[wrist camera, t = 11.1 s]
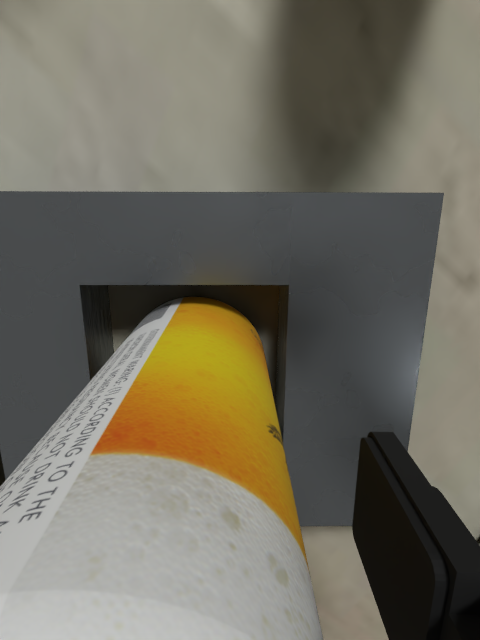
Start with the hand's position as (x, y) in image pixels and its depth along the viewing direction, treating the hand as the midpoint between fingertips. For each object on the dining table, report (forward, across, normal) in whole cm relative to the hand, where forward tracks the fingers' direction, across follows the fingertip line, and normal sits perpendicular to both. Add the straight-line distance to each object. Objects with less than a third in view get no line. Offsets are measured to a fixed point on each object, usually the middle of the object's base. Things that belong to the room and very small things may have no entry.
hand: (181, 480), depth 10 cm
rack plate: (+8, +1, 0) cm, 8 cm away
